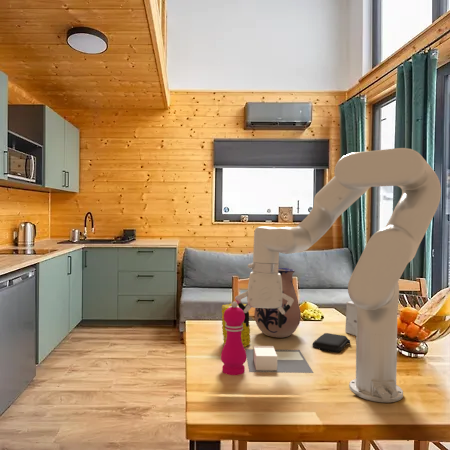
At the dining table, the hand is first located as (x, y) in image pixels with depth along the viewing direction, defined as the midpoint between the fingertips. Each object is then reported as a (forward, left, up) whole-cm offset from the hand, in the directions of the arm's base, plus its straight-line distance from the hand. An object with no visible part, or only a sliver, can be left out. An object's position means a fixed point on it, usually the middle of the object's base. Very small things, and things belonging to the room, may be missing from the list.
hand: (263, 326), depth 114 cm
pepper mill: (-6, +9, -12) cm, 16 cm away
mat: (+4, -5, -12) cm, 13 cm away
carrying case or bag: (+20, -26, -12) cm, 35 cm away
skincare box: (+36, -40, -12) cm, 55 cm away
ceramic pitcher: (+35, -10, -12) cm, 38 cm away
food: (+20, +7, -12) cm, 24 cm away
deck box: (0, -1, -11) cm, 11 cm away
